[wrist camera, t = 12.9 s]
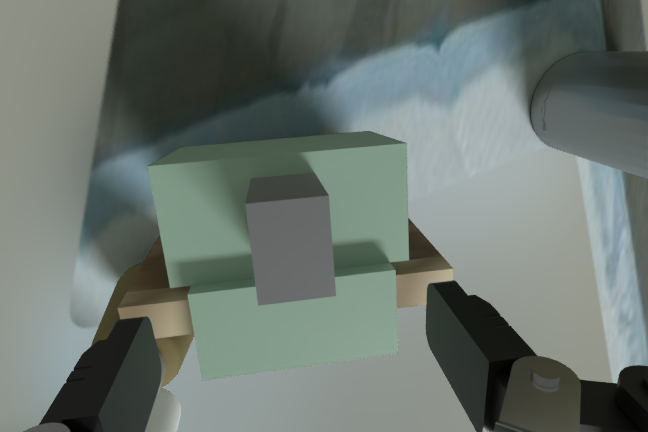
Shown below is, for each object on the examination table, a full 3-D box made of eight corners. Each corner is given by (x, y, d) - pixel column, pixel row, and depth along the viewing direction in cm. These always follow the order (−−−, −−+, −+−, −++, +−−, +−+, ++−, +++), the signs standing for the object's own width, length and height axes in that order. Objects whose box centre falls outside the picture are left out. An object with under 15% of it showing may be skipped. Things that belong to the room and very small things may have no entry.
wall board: (367, 172, 41) (453, 268, 22) (369, 238, 44) (447, 375, 25) (186, 189, 39) (117, 308, 21) (199, 257, 42) (147, 417, 23)
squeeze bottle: (125, 312, 43) (36, 475, 26) (126, 238, 40) (29, 368, 24) (208, 317, 44) (173, 476, 28) (214, 247, 42) (181, 375, 25)
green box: (369, 131, 28) (448, 156, 16) (375, 280, 31) (447, 403, 19) (181, 147, 27) (107, 188, 14) (207, 301, 30) (162, 446, 17)
